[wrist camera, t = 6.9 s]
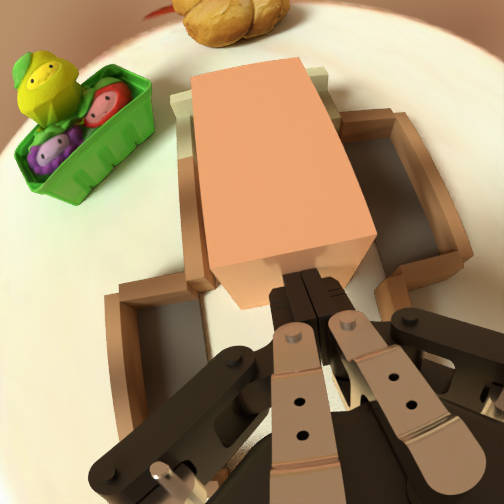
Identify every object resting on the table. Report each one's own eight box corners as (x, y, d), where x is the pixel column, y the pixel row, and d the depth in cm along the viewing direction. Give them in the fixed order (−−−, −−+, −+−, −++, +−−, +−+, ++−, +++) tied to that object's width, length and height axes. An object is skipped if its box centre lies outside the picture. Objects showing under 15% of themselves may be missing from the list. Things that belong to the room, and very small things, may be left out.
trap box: (488, 443, 12) (509, 448, 10) (158, 515, 13) (142, 530, 11) (382, 108, 22) (387, 86, 20) (127, 156, 23) (114, 137, 21)
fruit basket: (72, 228, 21) (-27, 143, 11) (39, 176, 24) (-32, 103, 14) (176, 128, 24) (126, 12, 13) (124, 96, 26) (78, 8, 16)
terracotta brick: (344, 288, 18) (377, 234, 11) (241, 310, 18) (209, 268, 11) (299, 141, 22) (298, 57, 15) (217, 157, 22) (190, 77, 15)
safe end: (325, 113, 22) (328, 74, 19) (185, 140, 23) (170, 103, 19) (321, 105, 23) (323, 66, 19) (185, 131, 23) (170, 95, 20)
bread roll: (274, 5, 31) (269, -45, 24) (314, 33, 27) (313, -29, 20) (178, 33, 30) (162, -20, 23) (201, 66, 27) (181, -1, 19)
